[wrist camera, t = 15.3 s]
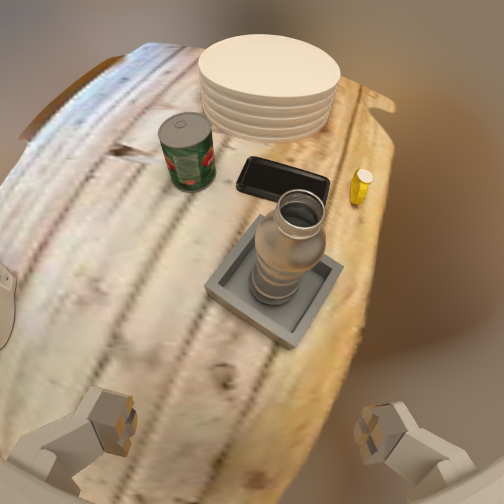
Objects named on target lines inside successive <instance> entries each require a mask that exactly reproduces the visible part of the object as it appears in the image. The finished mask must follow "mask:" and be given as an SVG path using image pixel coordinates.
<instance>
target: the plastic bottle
mask: <svg viewBox="0 0 504 504" xmlns="http://www.w3.org/2000/svg"><path fill="white" fill-rule="evenodd" d="M324 217H325V207H324V204H323V202H322V201H321V200H320V198H319V197H318V196H316V195H315V194H313V193H312V192H309V191H306V190H301V189H295V190H290V191H288V192H286V193H284V194H283V195H282V196H281V197H280V199H279V201H278V203H277V207H276V209H275V210H273V211H272V212H270V213H269V214H267V215H266V216H265V217H264V219H263V220H262V221H261V222H260V223H259V225H258V227H257V230H256V233H255V247H256V252H257V261H256V263H255V264H254V266H253V268H252V269H251V271H250V274H249V286H250V288H251V291H252V293H253V294H254V296H255V297H256V298H257V299H258V300H260V301H261V302H263V303H265V304H269V305H279V304H282V303H285V302H287V301H289V300H291V299H292V298H293V297H294V296H295V295H296V293H297V292H298V290H299V287H300V283H301V278H302V276H303V275H304V274H305V273H306V272H307V271H309V270H310V269H312V268H313V267H314V266H315V265H316V264H317V263H318V262H319V261H320V259H321V258H322V257H323V254H324V252H325V248H326V234H325V230H324V228H323V225H322V223H323V220H324Z"/></svg>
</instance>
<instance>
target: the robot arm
mask: <svg viewBox="0 0 504 504" xmlns="http://www.w3.org/2000/svg"><path fill="white" fill-rule="evenodd" d="M15 287H16V277H15V276H14V275H13V274H12V273H11V272H10V271H9V270H8V269H7V268H6V267H5V266H4V265H3V264H2V263H1V262H0V349H1V348H2V347H3V346H4V345H5V343H6V342H7V340H8V338H9V336H10V334H11V331H12V327H13V322H14V313H15V306H14V292H15ZM133 405H134V401H133V397H132V396H130V395H126V394H122V393H118V392H114V391H111V390H107V389H103V388H99V387H96V386H92V387H90V388H89V390H88V391H87V393H86V394H85V396H84V398H83V399H82V401H81V403H80V405H79V406H78V408H77V410H76V411H75V413H74V415H71V414H69V415H67V416H65V417H63V418H61V419H58V420H56V421H54V422H52V423H50V424H48V425H46V426H43V427H41V428H39V429H37V430H34V431H32V432H30V433H28V434H25V435H23V436H21V438H20V439H19V441H18V443H17V444H16V446H15V447H14V449H13V451H12V452H11V454H10V455H9V457H8V459H7V460H5V459H4V458H2V457H1V456H0V504H95V503H93V502H90V501H87V500H85V499H82V498H79V494H80V491H81V490H80V488H79V486H78V485H77V484H76V483H75V481H74V480H73V479H72V477H73V476H74V475H75V474H77V473H78V472H80V471H81V470H82V469H84V468H85V467H86V466H88V465H89V464H91V463H92V462H93V461H95V460H96V459H97V458H99V457H100V456H101V455H103V454H104V452H106V453H110V454H114V455H118V456H122V457H126V458H127V455H128V452H129V449H130V446H131V442H130V439H129V438H130V437H132V436H133V435H134V434H135V431H136V427H137V413H136V411H135V410H134V409H133V408H132V407H133ZM361 414H362V416H363V418H361V419H360V420H359V421H357V424H356V426H355V431H354V435H355V440H356V443H357V444H358V445H360V446H361V447H362V449H361V451H360V453H361V456H362V459H363V461H364V464H365V465H368V464H373V463H378V462H383V461H385V463H386V464H387V465H388V466H389V467H391V468H392V469H393V470H394V471H396V472H397V473H398V474H399V475H400V476H401V477H403V478H404V479H405V480H406V481H408V482H409V483H410V484H412V485H413V486H414V487H415V488H414V489H413V490H412V491H411V492H410V493H409V494H408V495H407V496H406V499H407V501H408V504H504V456H503V457H501V458H500V459H498V460H497V461H495V462H494V463H492V464H490V465H489V466H487V467H485V468H484V469H482V470H480V471H477V469H476V467H475V466H474V464H473V463H472V461H471V459H470V458H469V456H468V455H467V453H466V452H465V451H464V450H462V449H461V448H459V447H456V446H454V445H453V444H451V443H449V442H447V441H445V440H443V439H441V438H439V437H438V436H436V435H434V434H432V433H430V432H429V431H426V430H425V429H423V428H421V429H419V427H418V426H417V424H416V422H415V421H414V419H413V417H412V416H411V414H410V412H409V411H408V410H407V408H406V406H405V404H404V403H403V402H401V401H400V402H394V403H387V404H381V405H374V406H367V407H365V408H364V410H363V411H362V413H361Z"/></svg>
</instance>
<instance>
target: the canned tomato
mask: <svg viewBox="0 0 504 504" xmlns="http://www.w3.org/2000/svg"><path fill="white" fill-rule="evenodd" d="M158 137H159V140H160V143H161V146H162V150H163V153H164V157H165V160H166V163H167V166H168V170H169V173H170V176H171V180H172V183H173V185H174V186H175V187H176V188H177V189H179V190H181V191H184V192H198V191H201V190H203V189H205V188H207V187H208V186H209V185H211V184H212V182H213V181H214V179H215V176H216V169H215V160H214V150H213V140H212V131H211V122H210V120H209V119H208V118H207V117H206V116H205V115H203V114H200V113H196V112H183V113H179V114H176V115H173V116H172V117H170V118H168V119H167V120H165V121H164V122H163V123H162V125H161V126H160V128H159V130H158Z"/></svg>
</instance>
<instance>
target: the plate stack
mask: <svg viewBox="0 0 504 504" xmlns="http://www.w3.org/2000/svg"><path fill="white" fill-rule="evenodd" d="M198 65H199V75H200V85H201V95H202V104H203V110H204V113H205V115H206V117H207V118H208V119H209V120H210V122H211V123H212V124H213V125H214V126H216V127H217V128H218V129H220V130H221V131H223V132H225V133H227V134H229V135H232V136H234V137H237V138H240V139H244V140H248V141H253V142H260V143H287V142H293V141H298V140H302V139H305V138H307V137H310V136H312V135H314V134H315V133H317V132H318V131H319V130H321V129H322V128H323V126H324V125H325V124H326V122H327V119H328V116H329V112H330V110H331V106H332V103H333V100H334V96H335V93H336V89H337V85H338V82H339V79H340V70H339V67H338V65H337V63H336V62H335V61H334V60H333V59H332V58H331V57H330V56H329V55H328V54H327V53H325V52H324V51H322V50H320V49H319V48H317V47H315V46H313V45H310V44H308V43H305V42H303V41H300V40H296V39H292V38H288V37H283V36H275V35H262V34H258V35H244V36H238V37H232V38H229V39H225V40H222V41H220V42H217V43H215V44H213V45H212V46H210V47H209V48H207V49H206V50H205V51H204V52H203V53H202V54H201V56H200V58H199V62H198Z"/></svg>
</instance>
